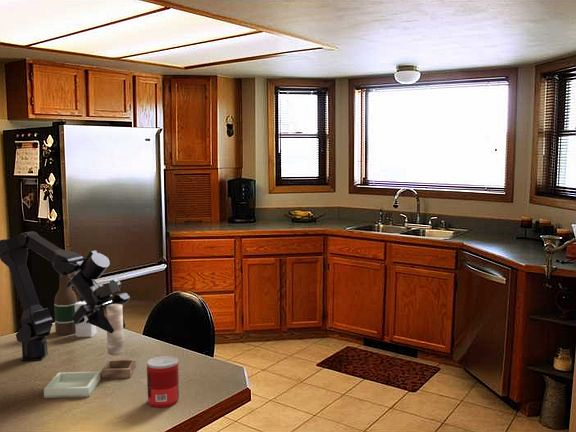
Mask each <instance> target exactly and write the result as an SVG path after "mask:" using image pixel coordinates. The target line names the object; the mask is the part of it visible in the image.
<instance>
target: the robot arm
mask: <svg viewBox="0 0 576 432" xmlns="http://www.w3.org/2000/svg"><path fill="white" fill-rule="evenodd" d="M28 249H30V250H31V251H32V252H35V253H36V254H38V255H39V256H41V257H42V258H44V259H46V261H49V262H50V263H51V264H52V268H53V269H54V270H55V271H56V272H57V273H58V274H59V275H60V274H61V275H63V276H65V275H73V276H72V277H70V278H68V283H67V287H68V288H69V287H71V288H72V287H74V288H75V290H76V291H77V293H78V294H79V296H80V298H79V302H80V301H81V302H83V301H85V302H86V304H85V305H82V306H80V307H79V308H78V309H77V311H76V312H75V313H74V314H73V321H74V322H75V324H76V325H77V324H80V323H83V322H84V320H85V318H84V316H87V318H88V320H87V321H86V323H87V324H88V323H90V324H92V325H95V326H96V328H99V329H101V330H103V331H106V333H107V332H109V333H113V332H114V330H113V328H112V326H111V325H110V323H109V322H108V320H107V316H106V315H105V311H104V310H106V306H107V305H111V304H121V305H122V308H123V307H124V306H125V305H126V304H127V302H129V301H130V299H131V297H130V294H128V293H127V292H121V289H122V288H123V286H122V282H121V281H120V280H119V279H118V278H115V279H112V280H110V281H109V283H106V284H101V283H100V284H98V283H97V281H96V280H98V279H99V278H100V277H101V276H102V275H103V273H104V272H105V271H106V270H107V269H108V267H109V266H110V264H111V263H110V262H111V261H110V259H109V257H108V256H105V255H104V254H102V253H101V252H98V251H97V250H96V249H94V250H90V251H89V252H88V253H87V256H86V257H83V256H82V255H81V254H80V253H77V252H74V251H71V250H66V249H62V248H60V247H59V246H58V245H56V244H54V243H52V242H51V241H49V240H47V239H46V238H44V237H42V235H39V233H38V232H36V231H27V232H22V233H19V234H18V235H16V236H13V237H10V238H4V239H0V261H1V262H2V263H3V264H4V265H5V266H6V267H8V269H9V271H10V273H11V278H12V281H13V284H14V286H15V289H16V293H17V297H18V298H19V301H20V305H21V308H22V314H21V318H20V324H21V327H20V328H19V330H18V331H17V333H16V334H15V338H16V340H17V342H20V343H21V350H22V351H21V353H22V354H21V355H22V357H20V360H19V361H20V362H21V361H24V362H25V361H41V360H43V359H44V358H46V356H47V355H48V354H49V352H48V351H49V350H48V341H46V337H49V336H50V334H51V330H52V327H53V320H54V319H53V318H52V316H51V312H50V309H49V308H48V307H46V308H44V307H43V306H42V305H41V304H40V301H39V299H38V296H37V293H36V289H35V287H34V284H33V280H32V277H31V275H30V272H29V268H28V266H27V259H28V256H29V251H28ZM120 292H121V293H120ZM115 293H117V294H115ZM114 294H115V295H114ZM110 299H111V300H110ZM125 328H126V323H125V319H124V318H123V330H124V329H125Z"/></svg>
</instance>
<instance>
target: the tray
mask: <svg viewBox="0 0 576 432" xmlns="http://www.w3.org/2000/svg"><path fill="white" fill-rule="evenodd" d="M100 381H101V371H73V372H72V371H71V372H70V371H69V372H68V371H67V372H66V371H64V372H58V373H57V374H56V375H55V376H54V377H53V378H52V379H51V381H49V383H48V384H47V385H45V387H43V397H44V398H43V399H61V398H62V399H63V398H64V399H65V398H67V399H68V398H89V397H90V396H91V395H92V393H93V392H94V390H96V387H97V386H98V385H99V383H100Z"/></svg>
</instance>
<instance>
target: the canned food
mask: <svg viewBox="0 0 576 432" xmlns="http://www.w3.org/2000/svg"><path fill="white" fill-rule="evenodd" d="M179 374H180V373H179V359H178V358H177V357H175V356H171V355H161V356H156V357H152V358H150V359H148V360H147V361H146V378H147V381H146V383H147V385H146V387H147V402H148V405H149V406H151V407H154V408H167V407H171V406H173V405H175V404H176V403H178V401H179V398H180V393H179V392H180V384H179V380H180V379H179Z"/></svg>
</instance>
